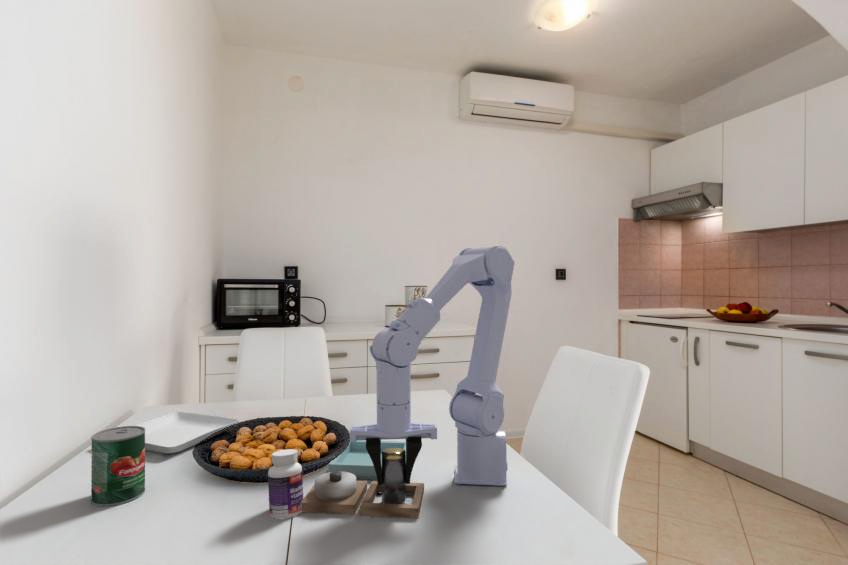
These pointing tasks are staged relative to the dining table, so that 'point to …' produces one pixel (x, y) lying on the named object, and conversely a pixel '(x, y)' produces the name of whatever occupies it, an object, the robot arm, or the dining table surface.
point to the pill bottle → (285, 485)
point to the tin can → (393, 476)
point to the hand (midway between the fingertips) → (393, 482)
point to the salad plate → (181, 430)
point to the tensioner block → (357, 497)
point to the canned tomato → (118, 465)
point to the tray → (360, 459)
